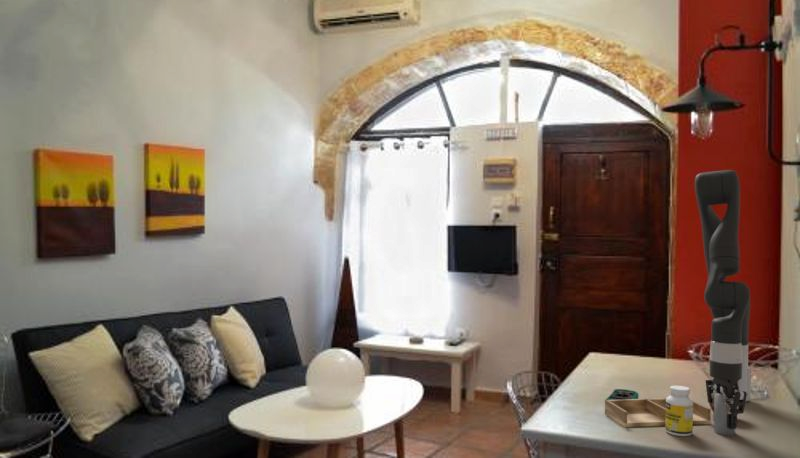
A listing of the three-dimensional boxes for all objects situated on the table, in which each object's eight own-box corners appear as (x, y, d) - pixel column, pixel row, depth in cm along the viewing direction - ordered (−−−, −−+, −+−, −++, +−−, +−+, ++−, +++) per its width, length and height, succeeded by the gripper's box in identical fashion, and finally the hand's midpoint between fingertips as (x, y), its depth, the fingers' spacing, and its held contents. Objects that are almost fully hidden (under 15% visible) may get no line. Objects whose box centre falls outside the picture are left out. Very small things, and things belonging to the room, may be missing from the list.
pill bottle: (660, 429, 176) (661, 384, 176) (684, 428, 176) (685, 384, 176) (672, 437, 169) (673, 391, 169) (697, 436, 170) (698, 390, 170)
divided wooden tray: (686, 411, 192) (686, 397, 192) (710, 423, 181) (710, 409, 181) (604, 414, 189) (605, 400, 189) (624, 427, 177) (624, 411, 177)
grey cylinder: (727, 429, 176) (728, 391, 176) (739, 435, 171) (740, 396, 171) (709, 429, 176) (710, 391, 176) (721, 436, 171) (722, 396, 171)
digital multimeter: (638, 400, 206) (639, 390, 206) (630, 411, 193) (630, 401, 193) (614, 397, 210) (614, 387, 210) (604, 408, 197) (604, 398, 197)
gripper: (757, 364, 167) (756, 433, 167) (722, 353, 181) (721, 416, 181) (729, 365, 166) (728, 434, 166) (696, 353, 180) (695, 417, 180)
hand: (724, 425), depth 174 cm, fingers closed on grey cylinder, 5 cm apart
